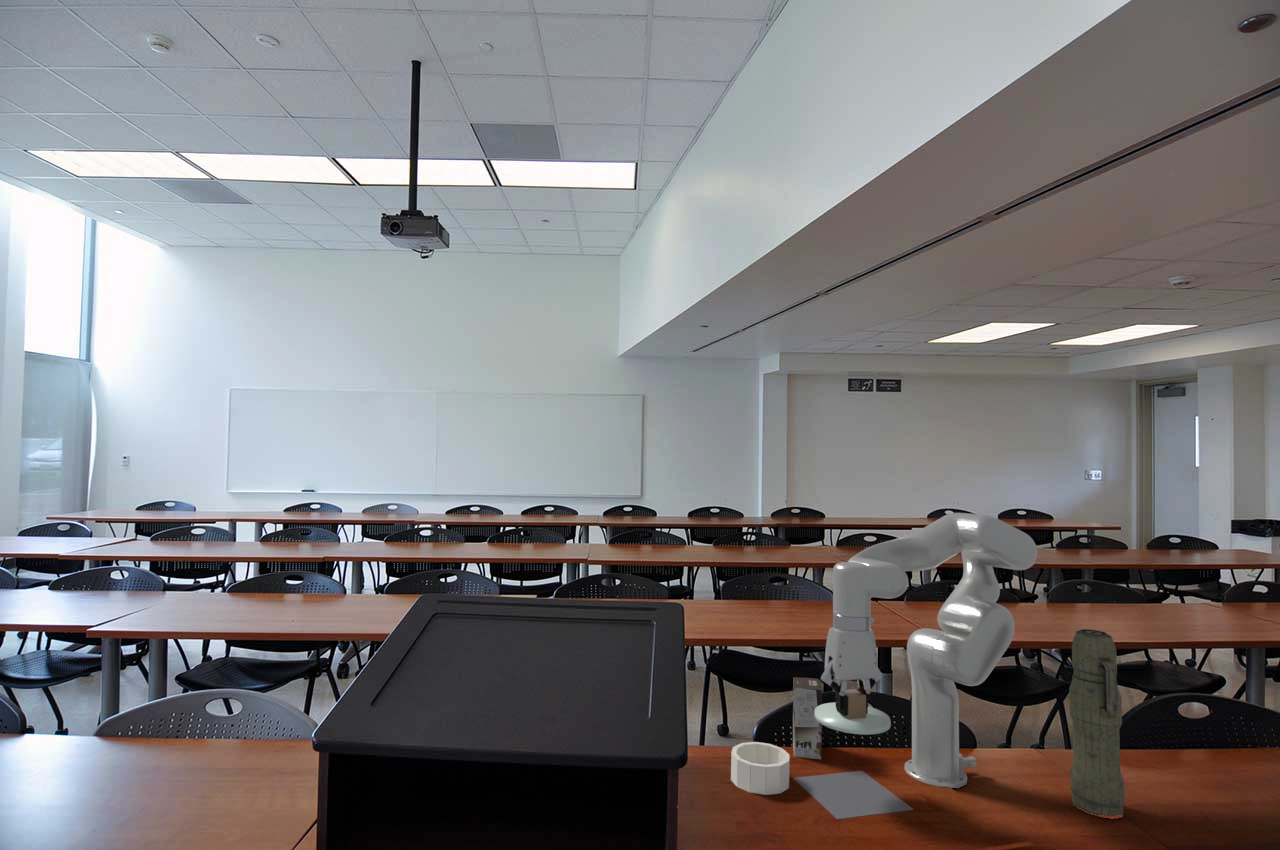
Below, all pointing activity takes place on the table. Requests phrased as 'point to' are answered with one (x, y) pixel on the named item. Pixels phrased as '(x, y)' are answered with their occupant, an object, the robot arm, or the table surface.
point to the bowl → (760, 768)
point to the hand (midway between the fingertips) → (851, 711)
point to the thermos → (1096, 725)
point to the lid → (853, 716)
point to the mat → (851, 794)
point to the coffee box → (806, 718)
